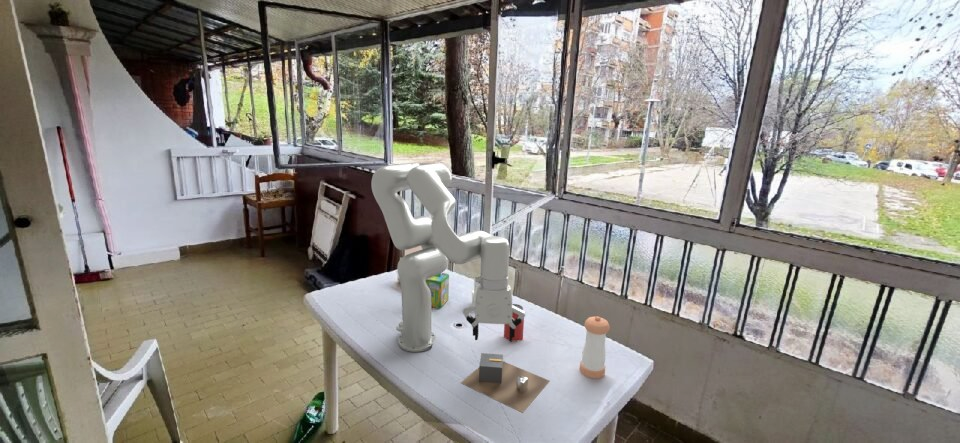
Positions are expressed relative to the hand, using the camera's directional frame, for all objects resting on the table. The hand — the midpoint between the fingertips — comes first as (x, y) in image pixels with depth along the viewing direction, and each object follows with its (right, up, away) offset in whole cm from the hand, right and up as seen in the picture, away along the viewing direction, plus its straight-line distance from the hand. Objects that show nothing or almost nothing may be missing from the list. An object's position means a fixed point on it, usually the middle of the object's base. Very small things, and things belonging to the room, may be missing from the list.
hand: (493, 338), depth 116 cm
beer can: (+8, -8, +25) cm, 28 cm away
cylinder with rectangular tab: (-3, -1, +50) cm, 50 cm away
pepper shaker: (+30, -13, +7) cm, 33 cm away
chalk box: (-22, 0, +51) cm, 56 cm away
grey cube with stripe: (-1, -12, +3) cm, 12 cm away
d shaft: (+8, -13, -2) cm, 15 cm away
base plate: (+3, -14, +1) cm, 14 cm away
